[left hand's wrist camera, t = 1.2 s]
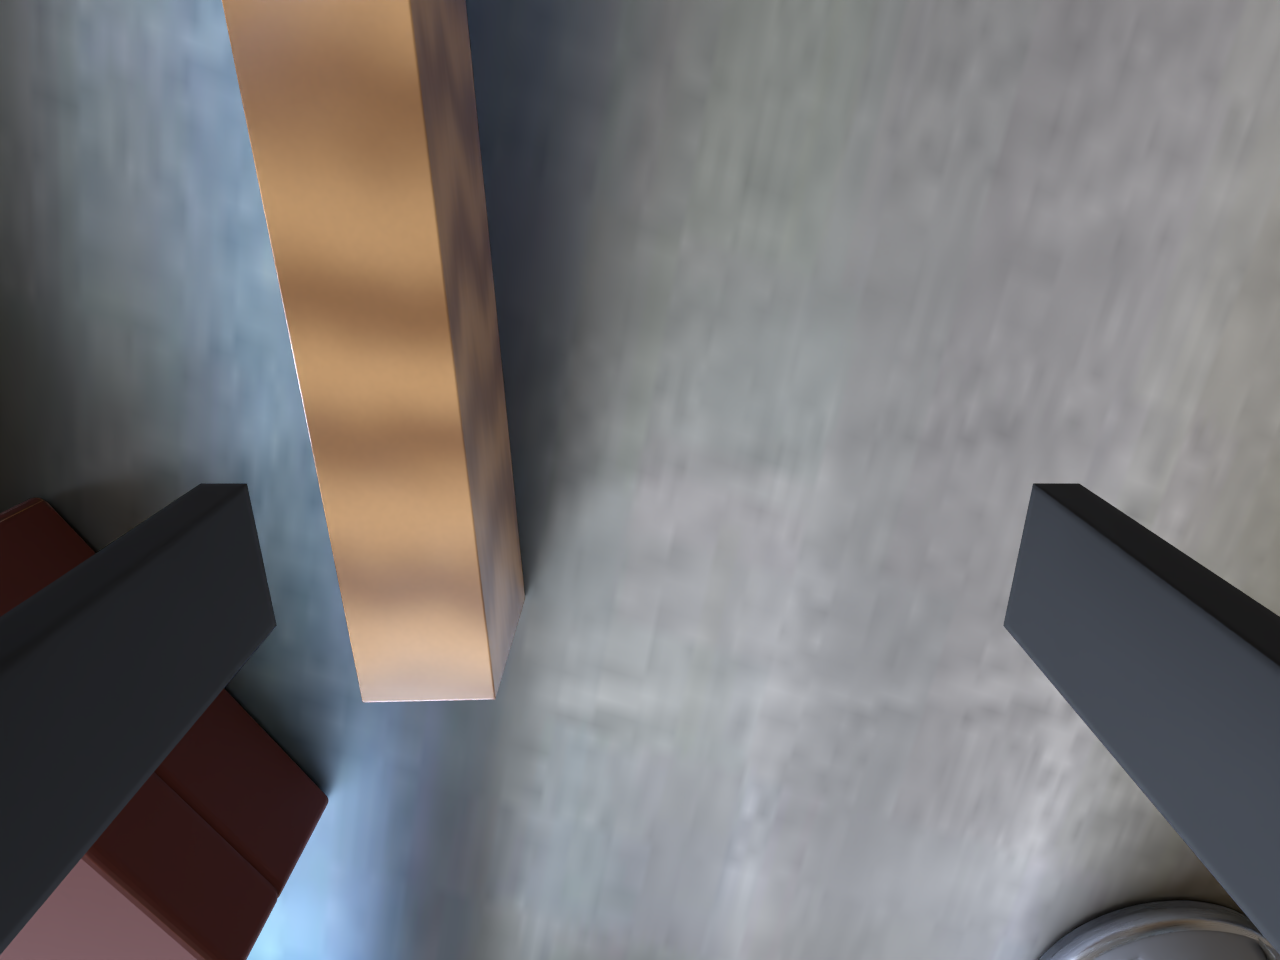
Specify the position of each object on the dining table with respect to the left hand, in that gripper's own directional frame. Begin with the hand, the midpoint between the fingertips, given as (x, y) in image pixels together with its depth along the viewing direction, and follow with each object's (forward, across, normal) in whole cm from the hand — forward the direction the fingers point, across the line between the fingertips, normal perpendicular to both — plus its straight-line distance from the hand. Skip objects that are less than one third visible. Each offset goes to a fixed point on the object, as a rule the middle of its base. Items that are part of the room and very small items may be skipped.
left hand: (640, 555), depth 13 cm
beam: (+20, +9, -19) cm, 29 cm away
